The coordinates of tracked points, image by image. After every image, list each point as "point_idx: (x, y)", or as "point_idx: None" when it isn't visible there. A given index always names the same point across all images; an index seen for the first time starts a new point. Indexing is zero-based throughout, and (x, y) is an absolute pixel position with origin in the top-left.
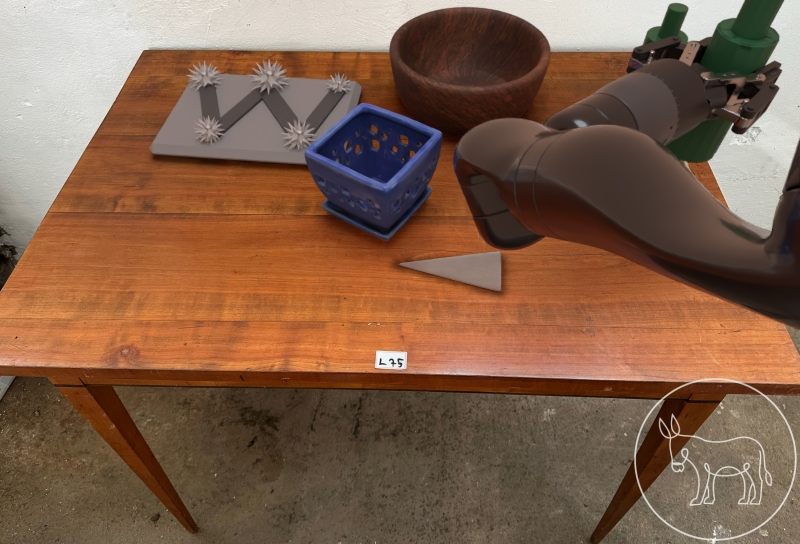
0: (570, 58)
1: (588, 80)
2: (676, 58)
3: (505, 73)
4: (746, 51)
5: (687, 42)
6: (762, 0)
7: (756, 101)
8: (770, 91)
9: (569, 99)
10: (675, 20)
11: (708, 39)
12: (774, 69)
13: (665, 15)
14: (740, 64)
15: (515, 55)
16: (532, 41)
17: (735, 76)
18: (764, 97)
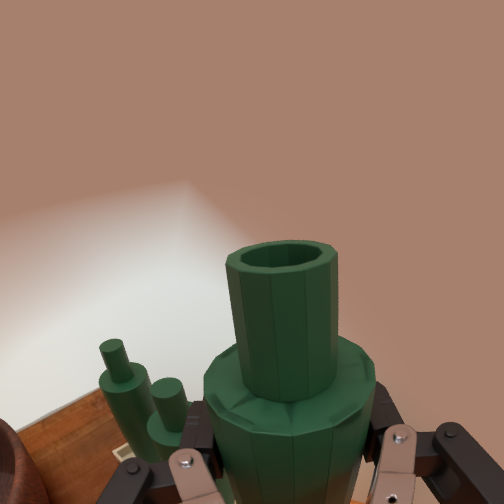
0: (62, 416)
1: (88, 433)
2: (173, 499)
3: (11, 469)
4: (352, 424)
5: (150, 389)
6: (305, 287)
7: (500, 493)
8: (466, 445)
9: (84, 467)
10: (117, 360)
11: (199, 418)
12: None
13: (103, 359)
14: (350, 449)
15: (5, 450)
16: (4, 436)
17: (402, 497)
18: (487, 468)
